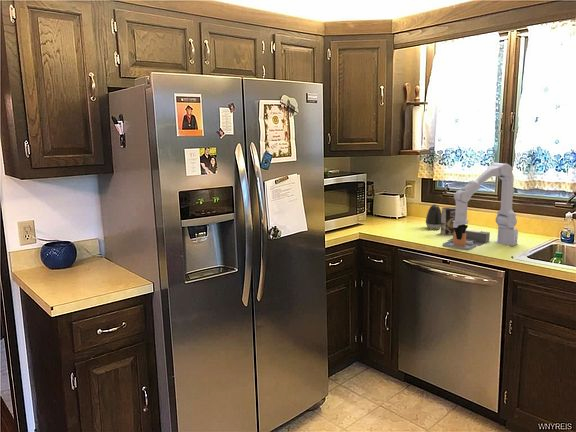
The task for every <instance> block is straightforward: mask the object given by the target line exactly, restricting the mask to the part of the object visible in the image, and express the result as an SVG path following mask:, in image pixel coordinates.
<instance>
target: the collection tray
mask: <svg viewBox="0 0 576 432" xmlns="http://www.w3.org/2000/svg"><path fill="white" fill-rule="evenodd" d="M449 240H450V239H449ZM442 247H447V248H451V249H453V248H454V249H457V250H463V251H470V250H472V249H474V248H476V247H478V246H477V244H472V243H466V247H462V246H455V245H453V240H450V241H448V240H447V241H446V242H443V243H442Z"/></svg>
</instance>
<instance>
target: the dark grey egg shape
mask: <svg viewBox="0 0 576 432" xmlns="http://www.w3.org/2000/svg"><path fill="white" fill-rule="evenodd" d="M441 216H442V209H441V208H440V206H439V205H438V204H432V205H431V206H429V208H428V211H427V214H426V218H425V224H426V227H427V228H428V229H430V230H439V229H441Z"/></svg>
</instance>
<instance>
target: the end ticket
mask: <svg viewBox="0 0 576 432" xmlns="http://www.w3.org/2000/svg"><path fill="white" fill-rule="evenodd" d="M453 236H454V239H453V238H452V239H453V245H455V246H462V247H466V234H465V233H462V238H461V240H459V239H457V238H456V233H455V232H454V235H453Z"/></svg>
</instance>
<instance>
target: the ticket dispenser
mask: <svg viewBox="0 0 576 432" xmlns="http://www.w3.org/2000/svg"><path fill="white" fill-rule="evenodd" d="M454 232H455V230H454ZM490 233H491V232H489V231H482V230H480V229H479V230H477V229H471V228H467V229H466V231H465V234H466V243H472V244H477V247H482V246H483V245H485V244H487V243H489V242H490V237H491V236H490V235H491V234H490ZM452 236H453V238H451V239H448V240H447V242H448V241H450V240H453V239H454V235H452Z"/></svg>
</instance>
